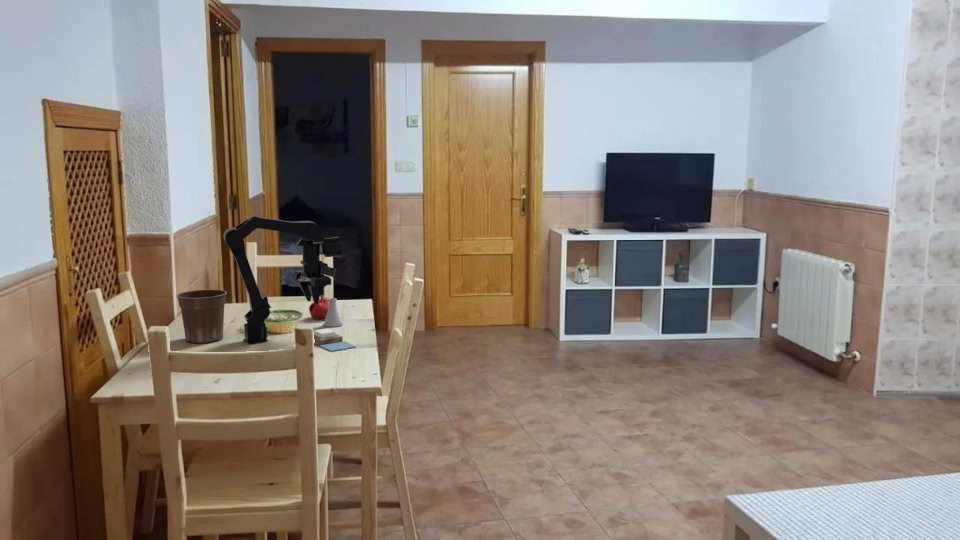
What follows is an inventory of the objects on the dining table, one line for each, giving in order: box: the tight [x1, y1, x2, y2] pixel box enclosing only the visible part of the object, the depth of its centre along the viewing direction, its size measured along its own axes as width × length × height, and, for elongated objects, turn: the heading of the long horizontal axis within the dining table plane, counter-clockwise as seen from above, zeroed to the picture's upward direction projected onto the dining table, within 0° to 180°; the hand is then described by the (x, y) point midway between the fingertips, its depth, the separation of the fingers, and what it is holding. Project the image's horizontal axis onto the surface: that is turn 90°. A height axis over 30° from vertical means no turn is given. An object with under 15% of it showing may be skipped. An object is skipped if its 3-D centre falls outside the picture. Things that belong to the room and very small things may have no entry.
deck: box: [314, 333, 343, 346], centre depth 258 cm, size 8×9×2 cm
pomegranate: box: [308, 294, 330, 321], centre depth 293 cm, size 10×10×9 cm
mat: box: [319, 341, 357, 353], centre depth 252 cm, size 9×8×1 cm
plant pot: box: [176, 289, 228, 344], centre depth 260 cm, size 16×16×16 cm
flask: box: [322, 297, 344, 328], centre depth 282 cm, size 7×7×10 cm
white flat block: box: [313, 327, 336, 338], centre depth 259 cm, size 5×6×2 cm
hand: (312, 302), depth 264 cm, fingers open, 5 cm apart
